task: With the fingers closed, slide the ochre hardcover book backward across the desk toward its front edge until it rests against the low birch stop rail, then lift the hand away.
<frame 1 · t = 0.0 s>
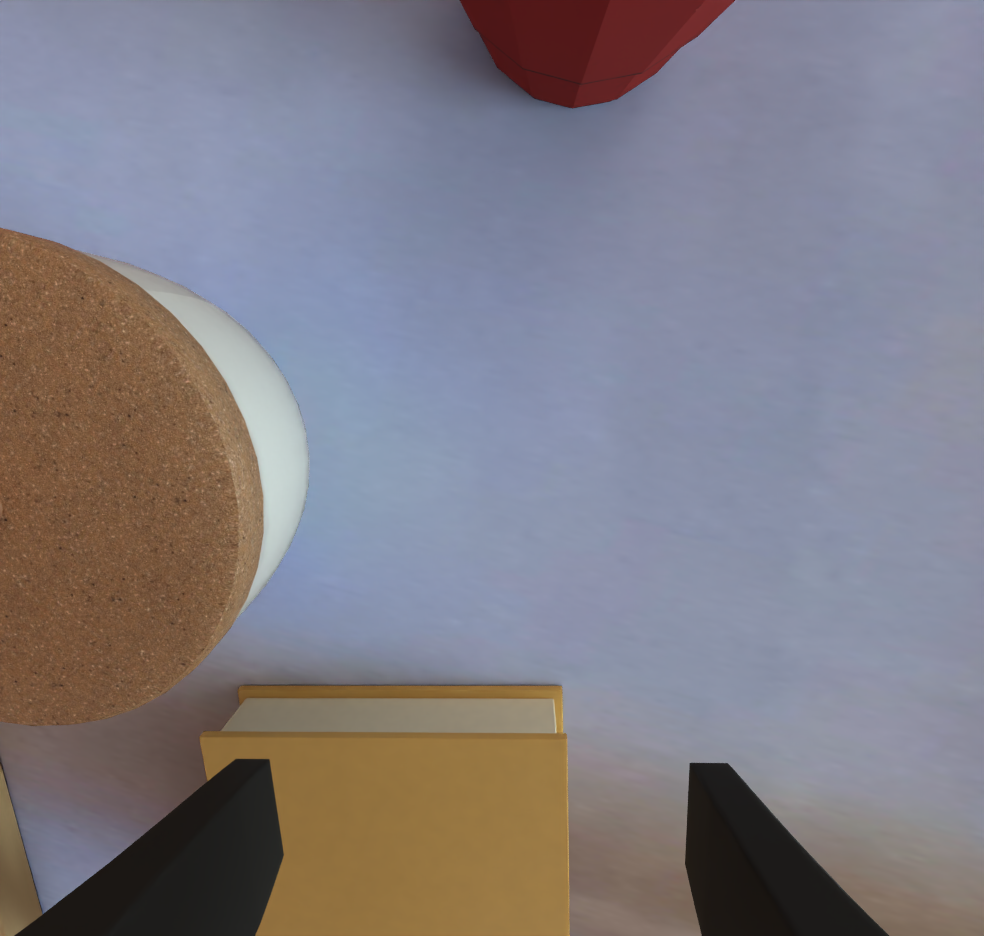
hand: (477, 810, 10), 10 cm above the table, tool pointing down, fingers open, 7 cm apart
stop rail: (7, 862, 24), on the table
trinket box: (204, 435, 19), on the table
book: (414, 872, 23), on the table
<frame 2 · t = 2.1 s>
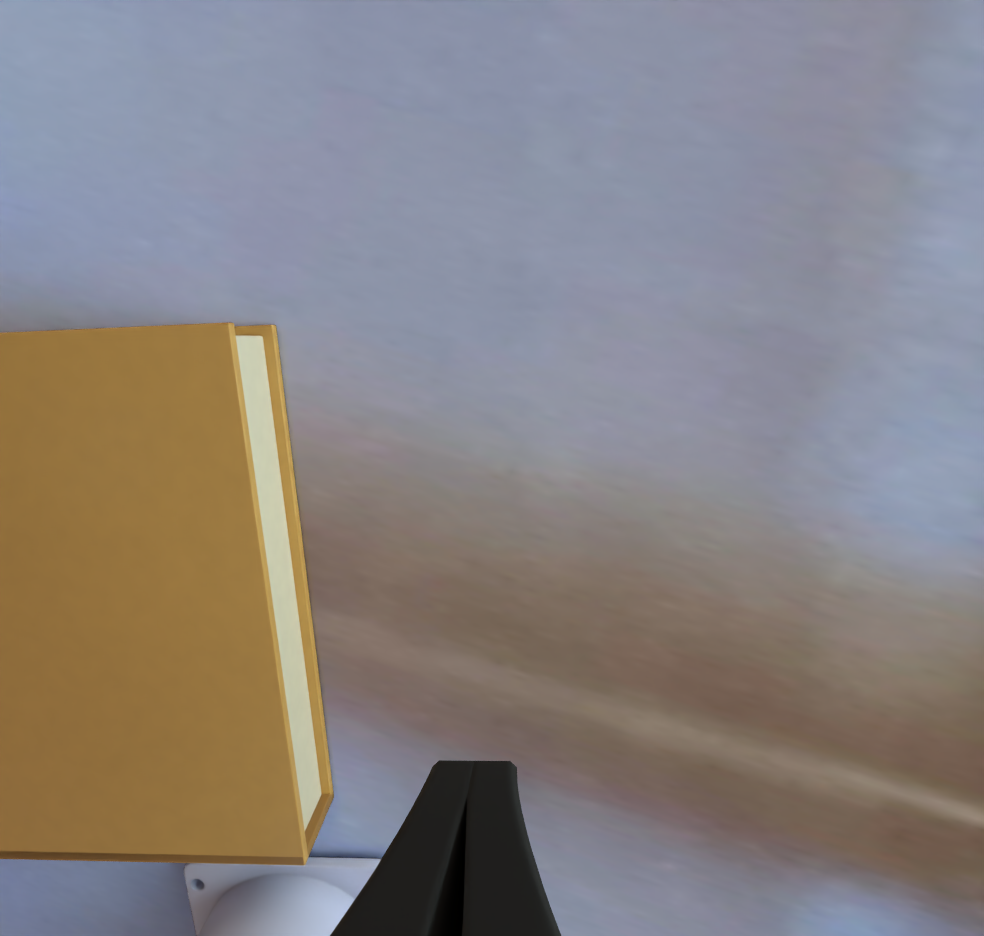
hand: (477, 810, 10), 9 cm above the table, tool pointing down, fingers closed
book: (138, 586, 19), on the table
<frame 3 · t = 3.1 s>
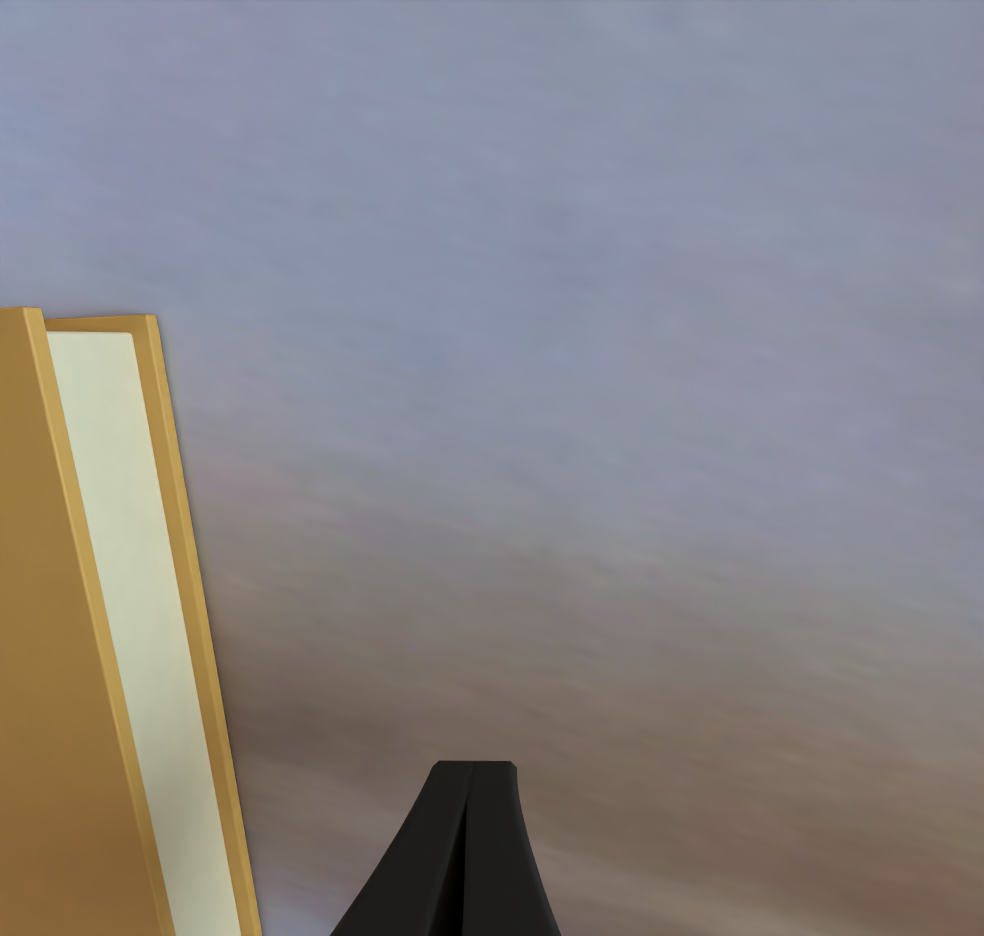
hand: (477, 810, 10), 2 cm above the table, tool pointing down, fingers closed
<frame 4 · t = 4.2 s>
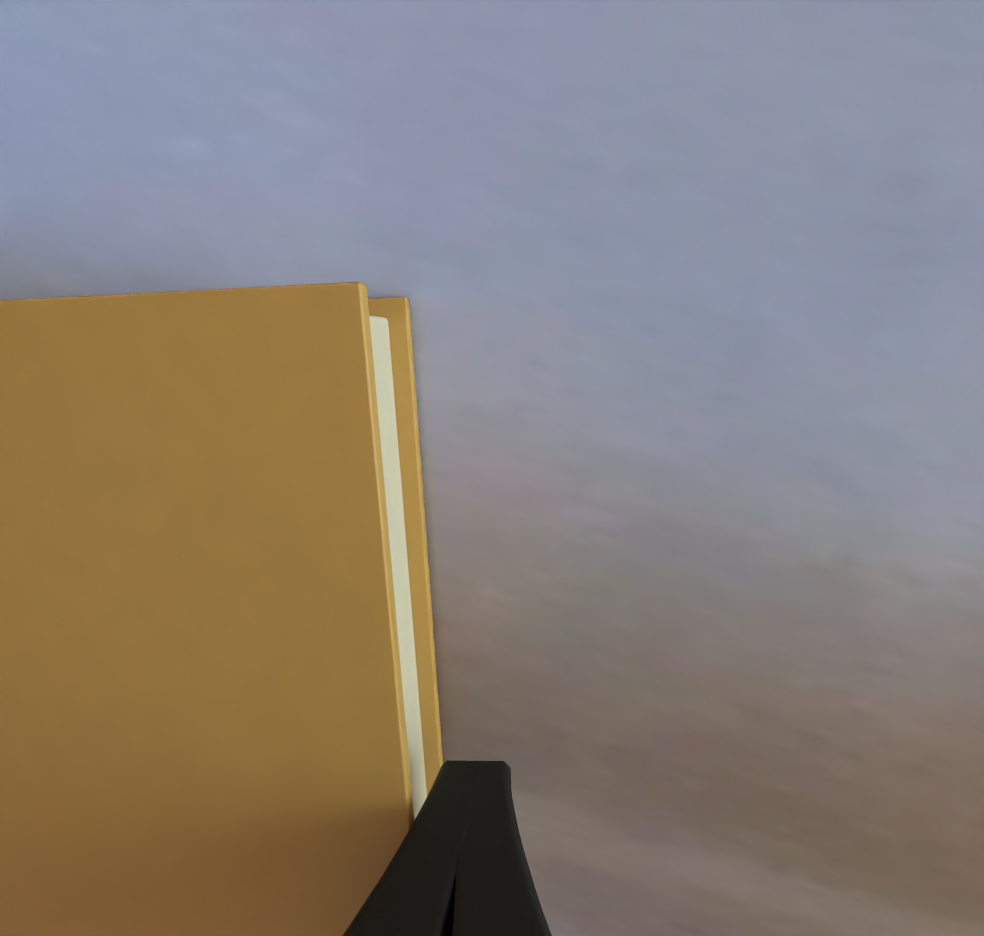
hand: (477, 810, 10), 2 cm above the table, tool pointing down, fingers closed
book: (153, 741, 12), on the table, touching gripper
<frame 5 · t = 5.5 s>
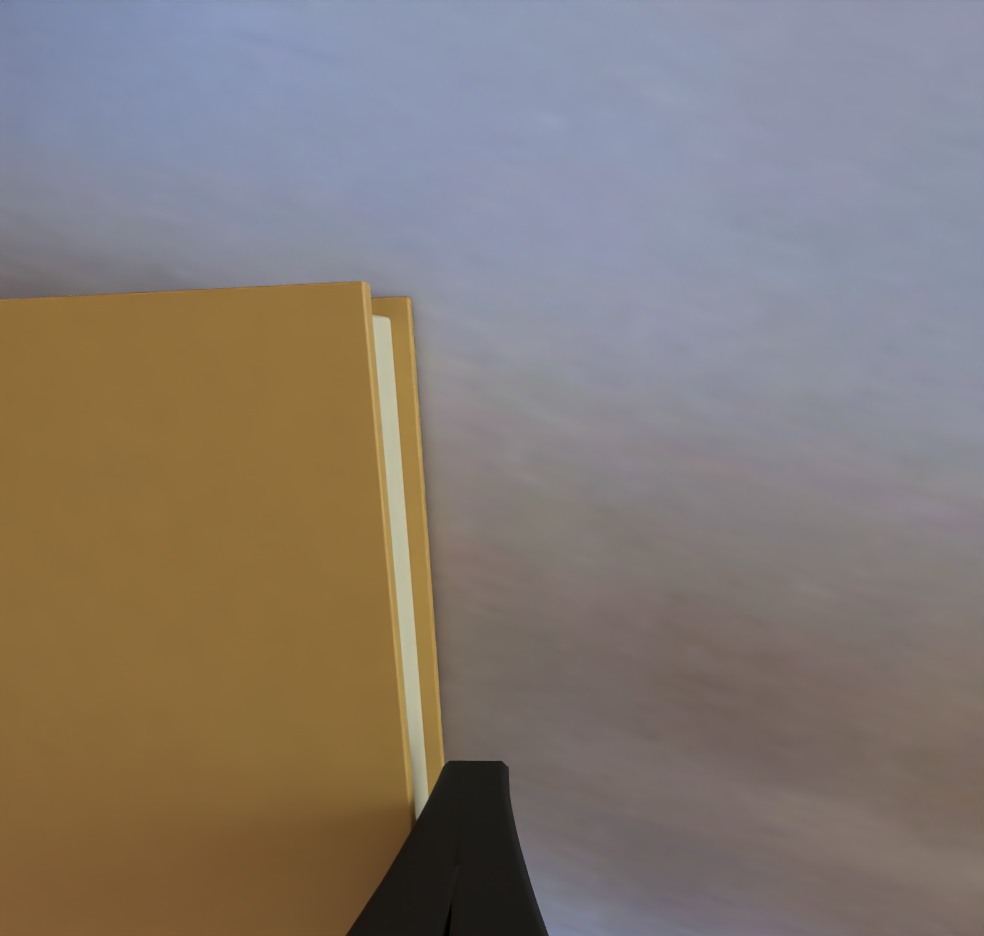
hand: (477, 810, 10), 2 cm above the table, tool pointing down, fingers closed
book: (155, 741, 12), on the table, touching gripper
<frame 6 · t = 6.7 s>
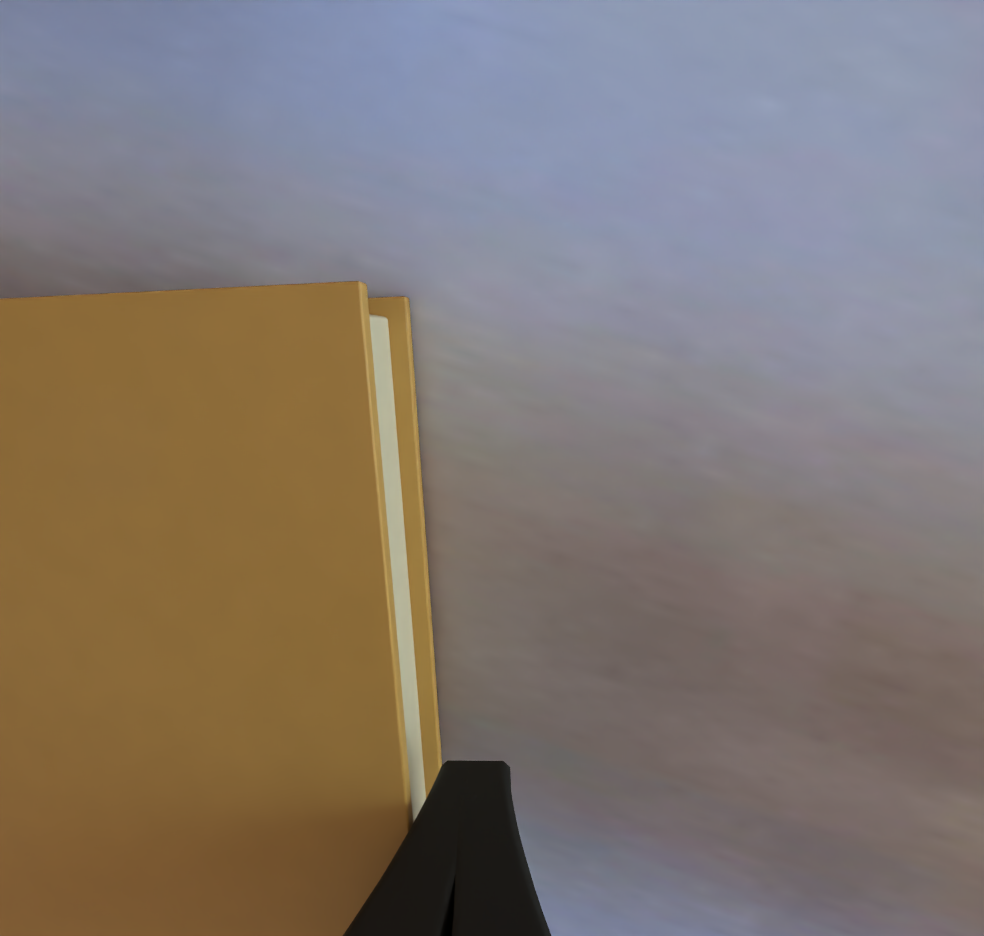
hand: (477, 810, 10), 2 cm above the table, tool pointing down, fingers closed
book: (152, 740, 12), on the table, touching gripper
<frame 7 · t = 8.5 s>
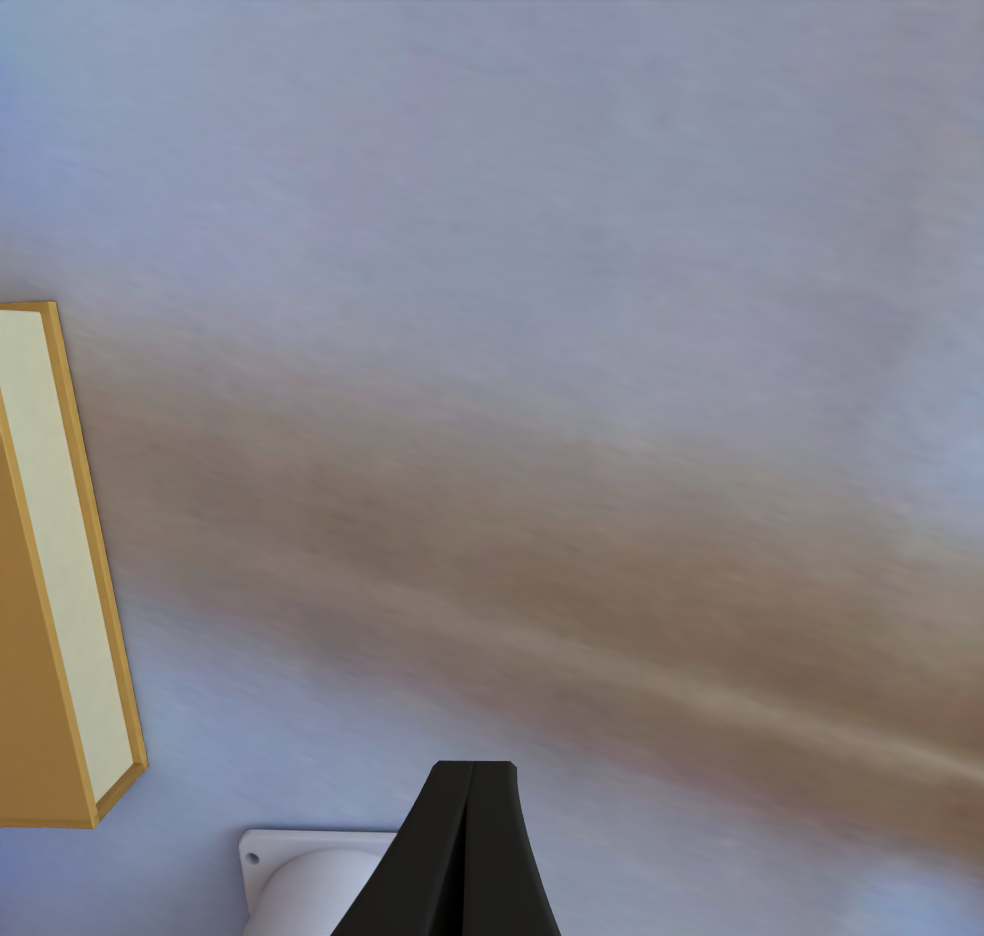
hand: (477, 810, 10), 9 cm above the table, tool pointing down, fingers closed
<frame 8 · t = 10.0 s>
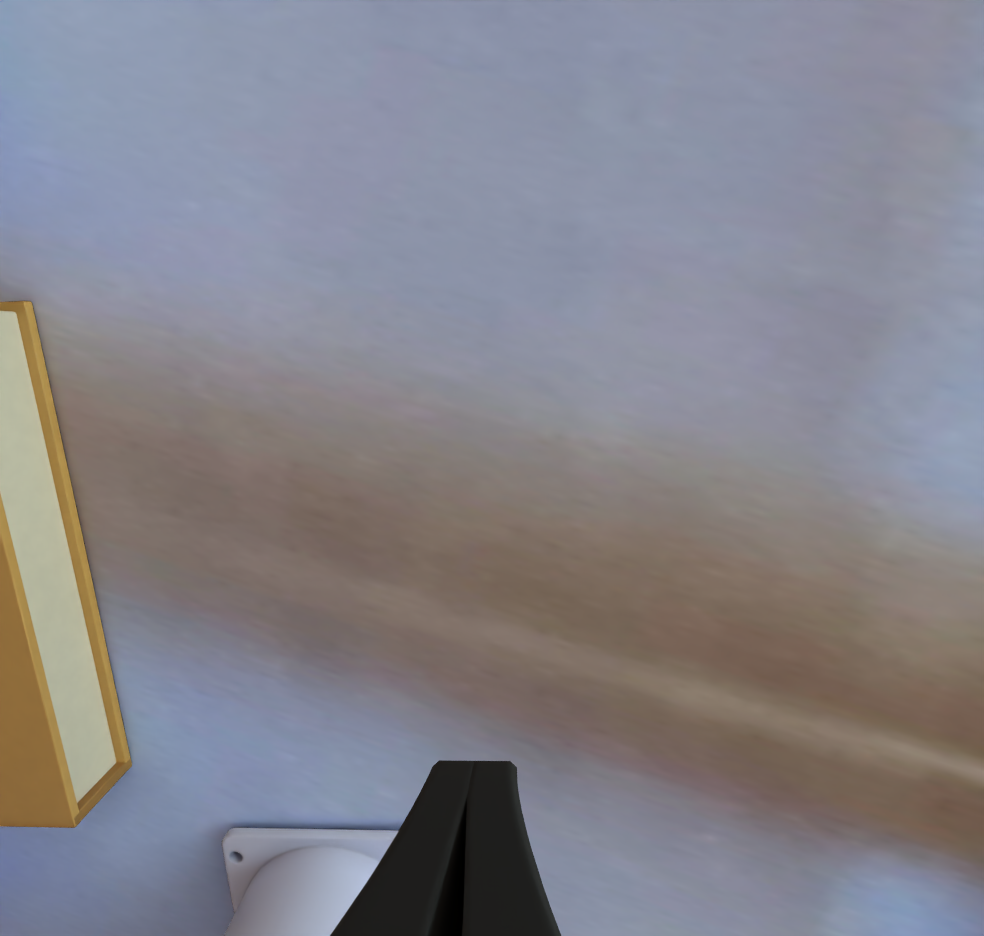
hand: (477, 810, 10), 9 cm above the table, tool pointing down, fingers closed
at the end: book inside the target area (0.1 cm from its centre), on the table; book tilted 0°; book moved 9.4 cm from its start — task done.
